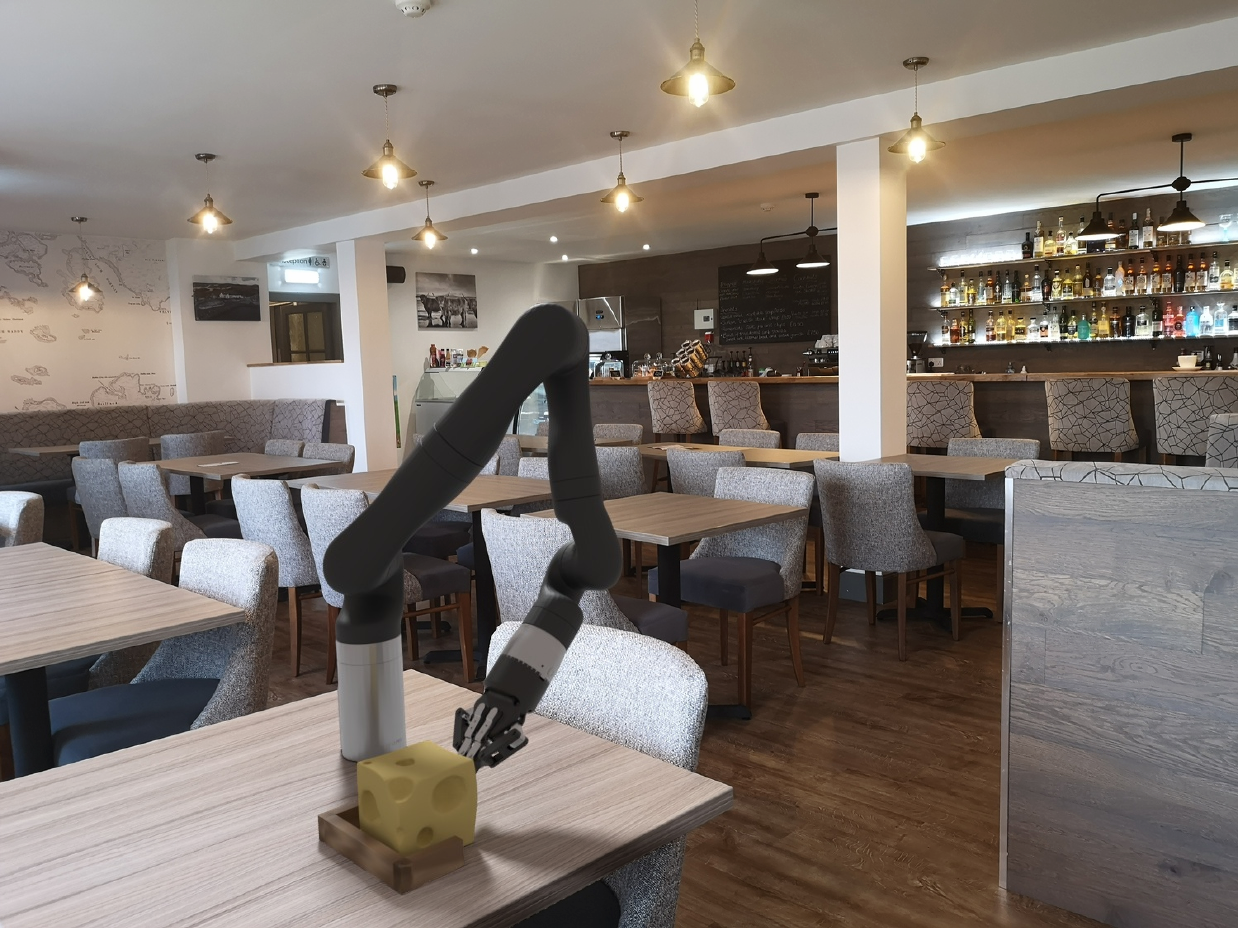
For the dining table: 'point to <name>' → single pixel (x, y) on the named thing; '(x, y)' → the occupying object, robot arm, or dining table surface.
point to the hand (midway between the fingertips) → (452, 790)
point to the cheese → (417, 797)
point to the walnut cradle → (387, 851)
